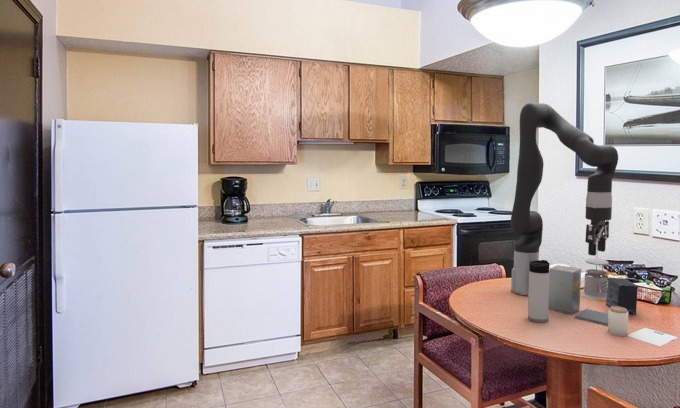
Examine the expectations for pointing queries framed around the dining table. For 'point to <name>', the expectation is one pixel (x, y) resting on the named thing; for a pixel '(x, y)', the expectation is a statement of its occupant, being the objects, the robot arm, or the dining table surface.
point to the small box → (622, 294)
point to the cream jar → (618, 321)
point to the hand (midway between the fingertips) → (596, 253)
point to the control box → (564, 289)
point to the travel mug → (538, 291)
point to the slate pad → (593, 316)
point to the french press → (595, 280)
